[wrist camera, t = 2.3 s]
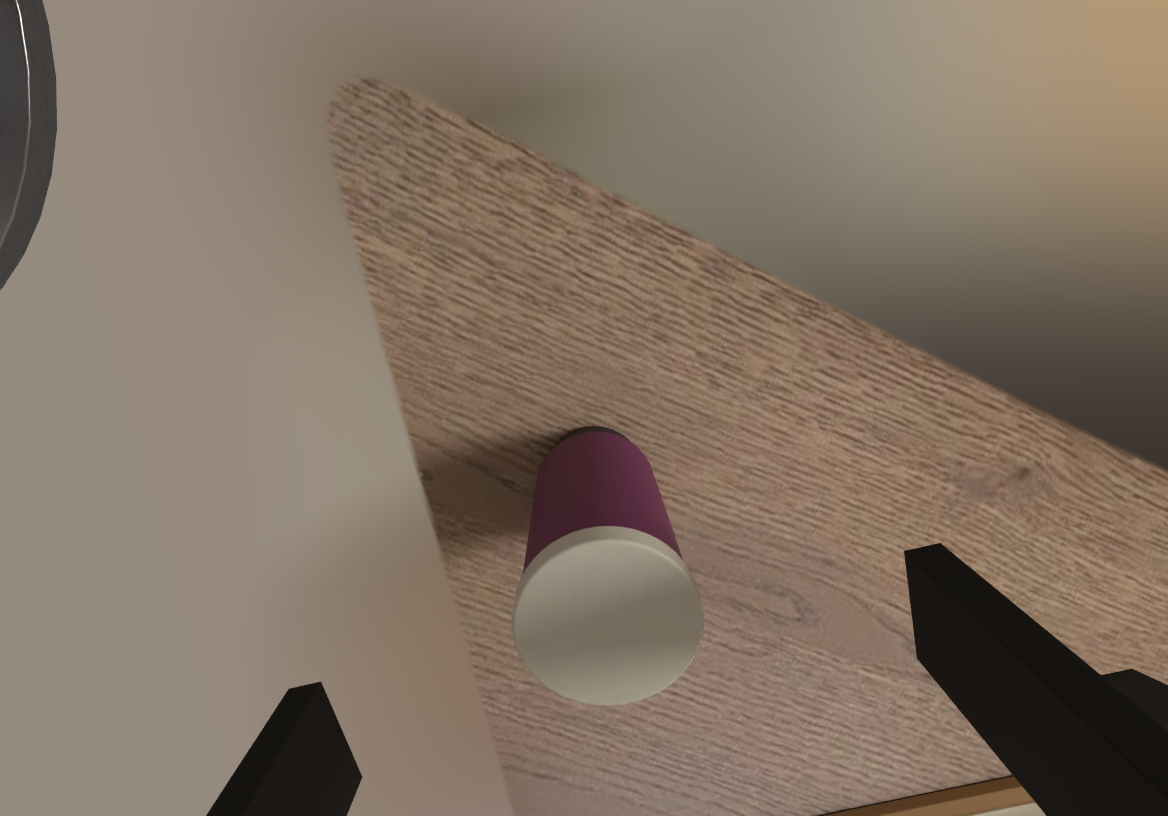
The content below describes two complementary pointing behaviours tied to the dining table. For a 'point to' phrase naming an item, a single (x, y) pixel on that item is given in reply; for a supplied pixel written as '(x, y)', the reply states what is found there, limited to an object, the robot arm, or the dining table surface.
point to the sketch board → (960, 802)
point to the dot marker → (603, 577)
